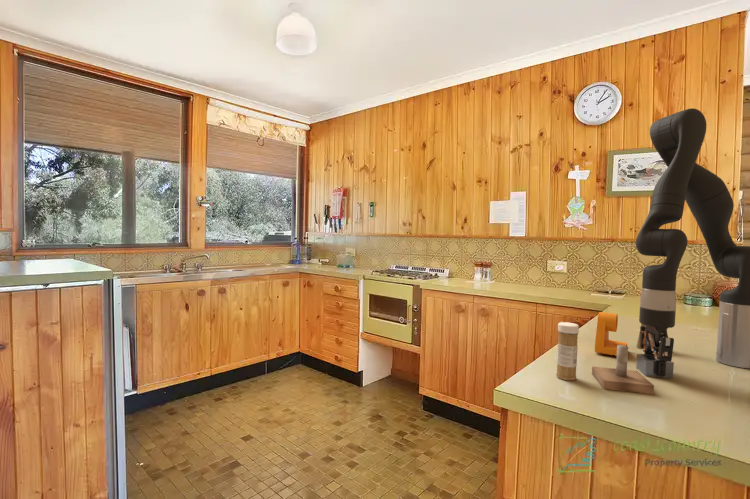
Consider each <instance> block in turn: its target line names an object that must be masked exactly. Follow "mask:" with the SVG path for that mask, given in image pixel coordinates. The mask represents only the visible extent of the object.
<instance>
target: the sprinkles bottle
mask: <svg viewBox="0 0 750 499" xmlns="http://www.w3.org/2000/svg"><path fill="white" fill-rule="evenodd" d="M579 329H580V326H579V324H577V323H574V322H573V323H572V322H567V321H566V322H565V321H560V322H559V323H558V324H557V332H558V334H557V337H558V338H557V340H558V341H557V351H556V352H557V353H556V354H557V355H556V373H555V376H556V377H557V378H558V379H561V380H564V381H575V380H576V379H577V367H578V364H577V363H578V335H579V331H580V330H579Z"/></svg>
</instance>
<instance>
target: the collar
mask: <svg viewBox="0 0 750 499" xmlns="http://www.w3.org/2000/svg"><path fill="white" fill-rule="evenodd" d="M654 368H655V356H654V355H647V354H644V353H636V370H638V369H639V370H640V371H641V372H642V373H643V374H642V373H641V372H640V371H639V370H638V371H639V372H640V373H641V374H642V375H644V376H645V375H646V376H645V377H651V376H655V377H654V378H661V377H664V378H663V379H672V380H673V378H674V362H673V361H672V360H671V361H668V362H666V373H665V376H656V375H655V374H654Z"/></svg>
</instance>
